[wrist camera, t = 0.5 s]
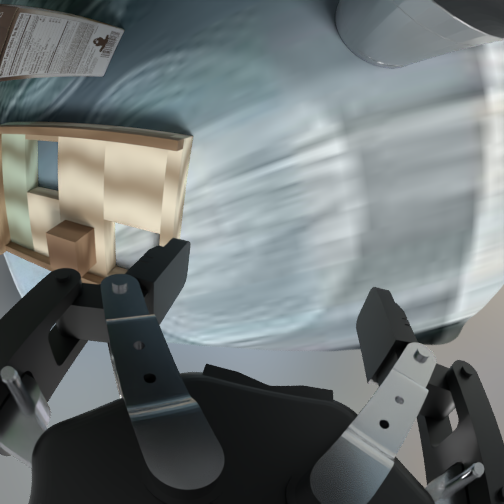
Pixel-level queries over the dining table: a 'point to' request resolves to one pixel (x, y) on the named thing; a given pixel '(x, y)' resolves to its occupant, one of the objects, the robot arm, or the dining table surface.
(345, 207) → the dining table surface
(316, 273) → the dining table surface
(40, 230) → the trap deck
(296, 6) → the dining table surface
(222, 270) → the dining table surface
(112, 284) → the robot arm
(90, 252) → the walnut block
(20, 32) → the coffee box
